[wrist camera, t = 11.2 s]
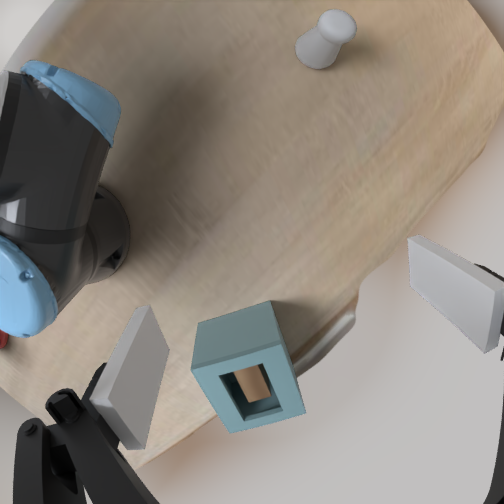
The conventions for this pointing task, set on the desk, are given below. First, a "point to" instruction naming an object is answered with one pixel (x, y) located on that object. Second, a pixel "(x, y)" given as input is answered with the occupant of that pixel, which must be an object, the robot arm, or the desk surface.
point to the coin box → (243, 356)
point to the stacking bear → (3, 338)
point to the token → (254, 382)
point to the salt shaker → (325, 39)
